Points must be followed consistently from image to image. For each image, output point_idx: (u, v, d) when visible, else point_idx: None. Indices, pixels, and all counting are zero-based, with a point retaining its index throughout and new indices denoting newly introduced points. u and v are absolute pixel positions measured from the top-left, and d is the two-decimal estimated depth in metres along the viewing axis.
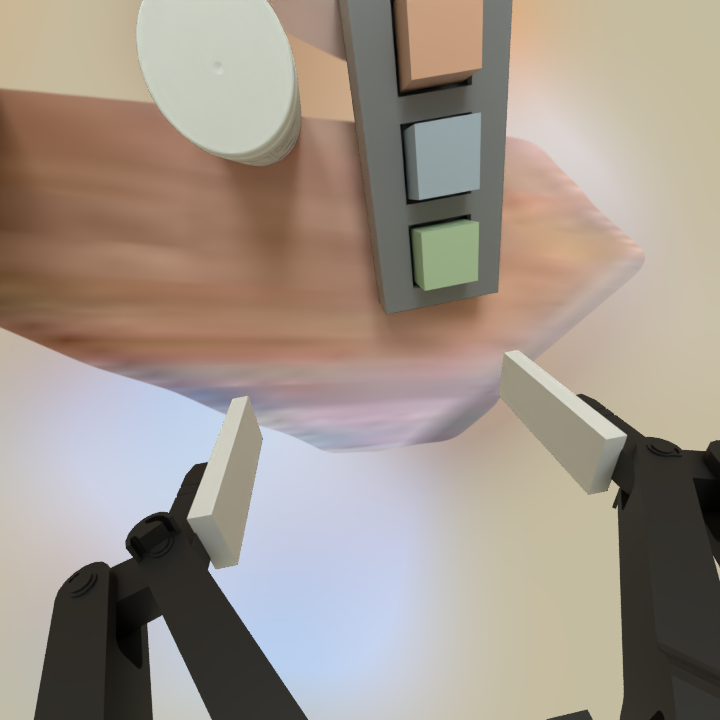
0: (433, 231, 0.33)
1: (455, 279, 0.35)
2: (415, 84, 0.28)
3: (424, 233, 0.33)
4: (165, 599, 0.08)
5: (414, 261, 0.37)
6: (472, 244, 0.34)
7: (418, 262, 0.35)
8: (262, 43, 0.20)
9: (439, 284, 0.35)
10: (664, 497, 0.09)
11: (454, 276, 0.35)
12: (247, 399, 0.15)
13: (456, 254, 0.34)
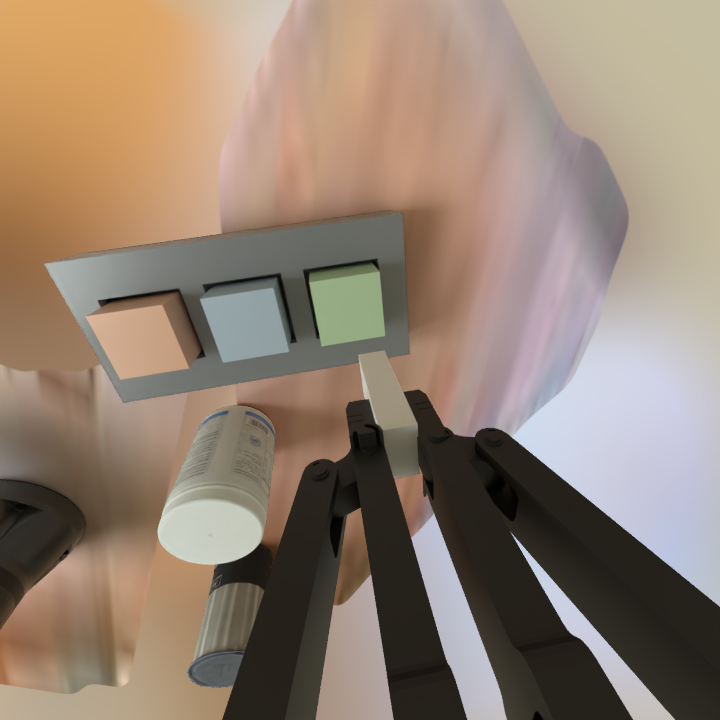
0: (320, 333, 0.29)
1: (375, 301, 0.29)
2: (192, 350, 0.30)
3: (322, 343, 0.30)
4: (363, 486, 0.10)
5: None
6: (334, 286, 0.28)
7: None
8: (191, 515, 0.28)
9: (379, 320, 0.30)
10: (456, 480, 0.10)
11: (372, 303, 0.29)
12: (372, 355, 0.18)
13: (345, 304, 0.28)
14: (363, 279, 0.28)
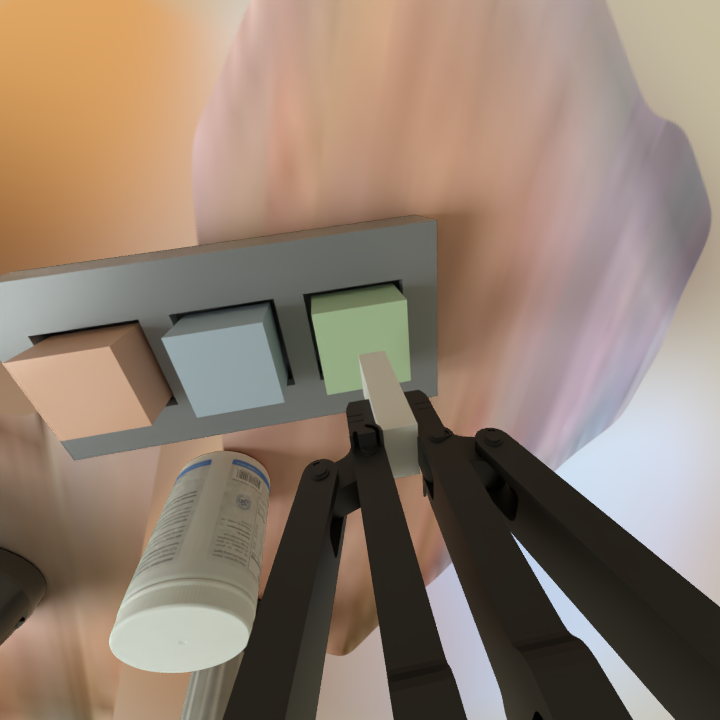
0: (325, 379, 0.22)
1: (399, 338, 0.21)
2: (158, 399, 0.23)
3: (328, 390, 0.23)
4: (363, 486, 0.10)
5: None
6: (346, 319, 0.20)
7: None
8: (153, 624, 0.21)
9: (404, 361, 0.22)
10: (456, 480, 0.10)
11: (395, 340, 0.21)
12: (372, 355, 0.18)
13: (359, 341, 0.21)
14: (384, 310, 0.20)
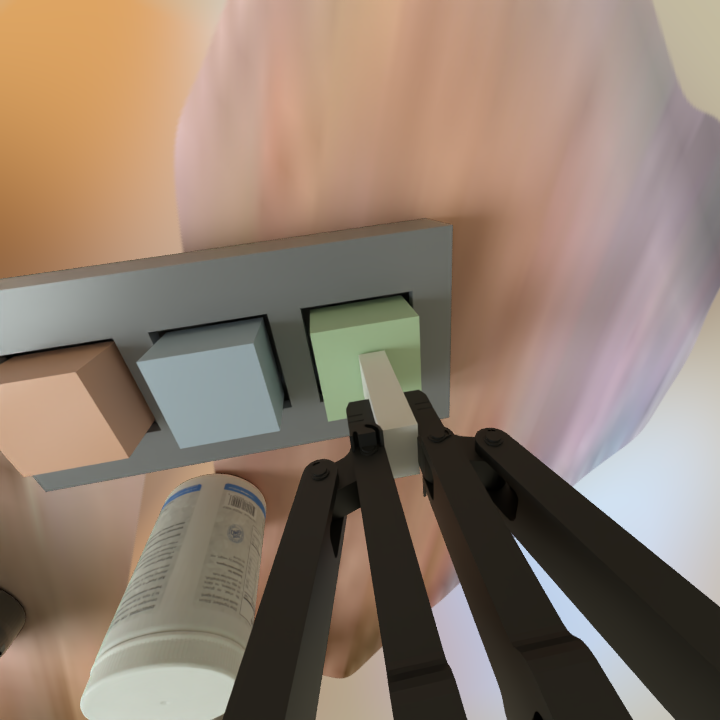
0: (326, 404, 0.20)
1: (410, 358, 0.19)
2: (137, 426, 0.21)
3: (328, 417, 0.20)
4: (363, 486, 0.10)
5: None
6: (349, 338, 0.18)
7: None
8: (130, 686, 0.19)
9: (414, 383, 0.20)
10: (456, 480, 0.10)
11: (405, 361, 0.19)
12: (372, 355, 0.18)
13: None
14: (393, 327, 0.18)
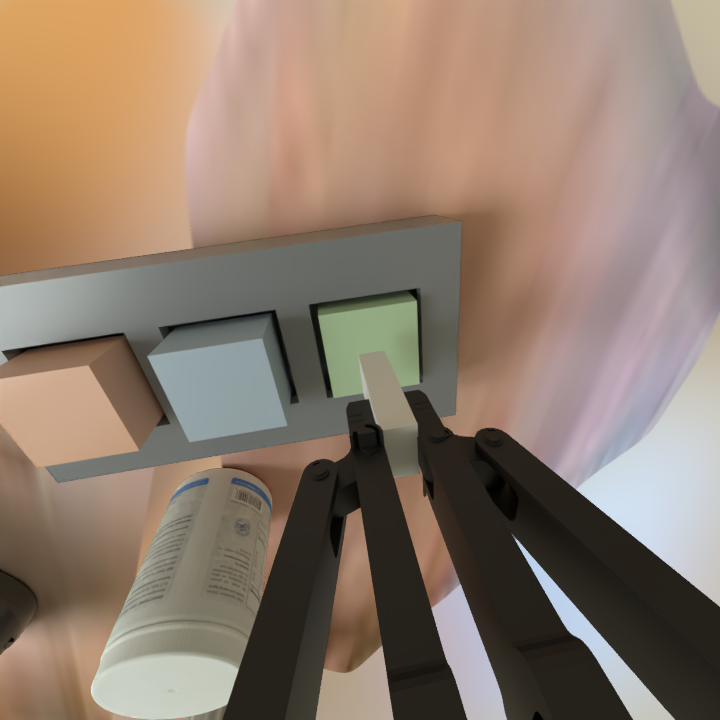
0: (331, 381, 0.22)
1: (408, 340, 0.21)
2: (147, 420, 0.21)
3: (334, 393, 0.22)
4: (363, 486, 0.10)
5: None
6: (353, 321, 0.20)
7: None
8: (140, 673, 0.19)
9: (413, 364, 0.22)
10: (456, 480, 0.10)
11: (404, 342, 0.21)
12: (372, 355, 0.18)
13: (367, 343, 0.21)
14: (393, 311, 0.20)
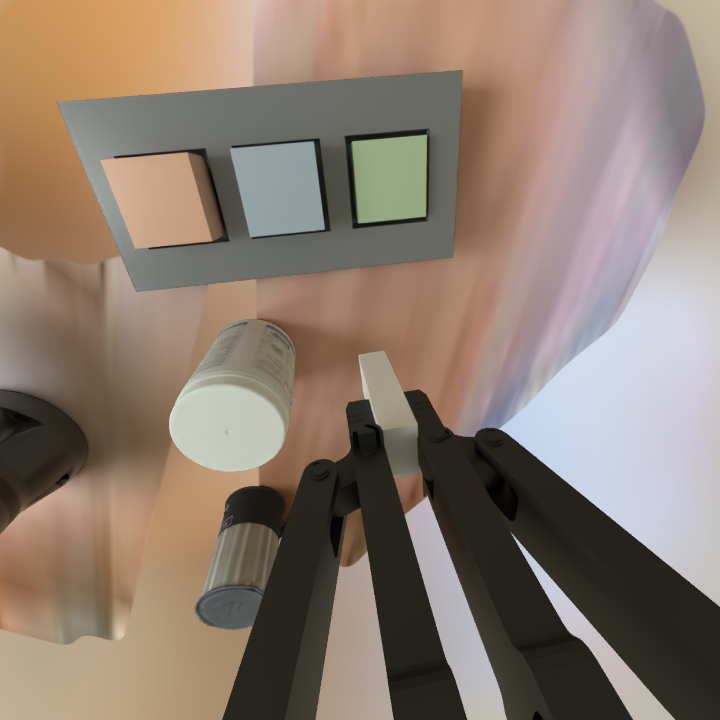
0: (358, 207, 0.28)
1: (419, 172, 0.27)
2: (215, 227, 0.27)
3: (359, 219, 0.28)
4: (363, 486, 0.10)
5: None
6: (378, 149, 0.26)
7: None
8: (208, 404, 0.25)
9: (421, 196, 0.28)
10: (456, 480, 0.10)
11: (415, 174, 0.27)
12: (372, 355, 0.18)
13: (387, 172, 0.27)
14: (409, 143, 0.26)
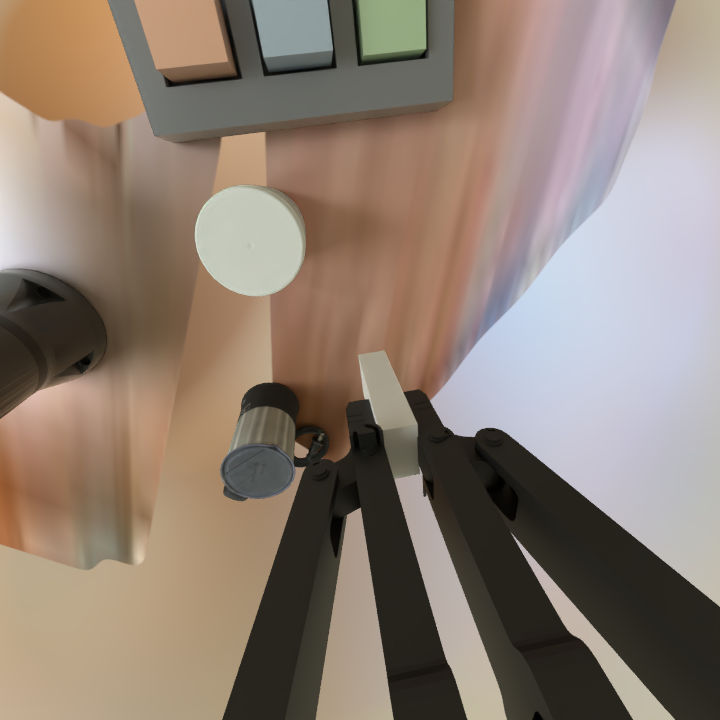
0: (362, 37, 0.30)
1: None
2: (229, 56, 0.29)
3: (364, 50, 0.30)
4: (363, 486, 0.10)
5: None
6: None
7: (394, 57, 0.32)
8: (231, 209, 0.27)
9: (421, 25, 0.30)
10: (456, 480, 0.10)
11: (415, 0, 0.29)
12: (372, 355, 0.18)
13: None
14: None
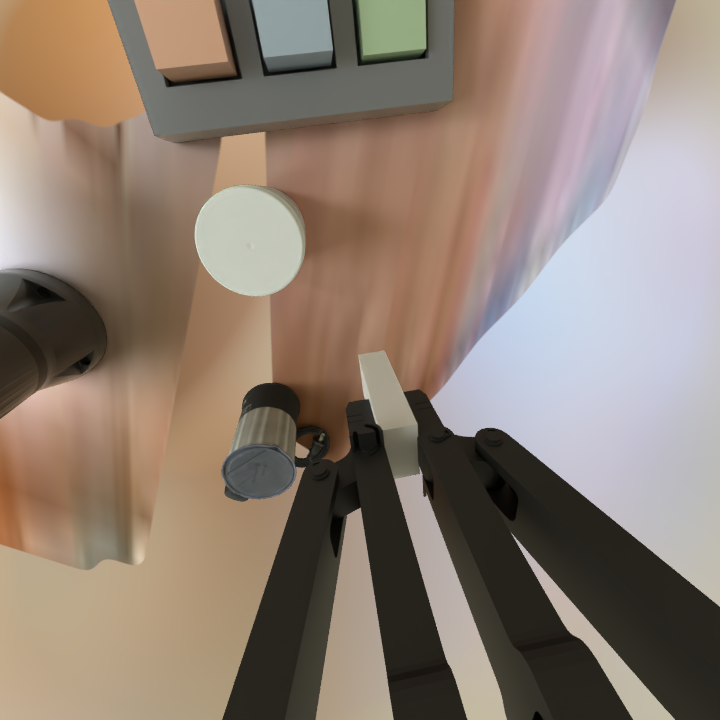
0: (362, 37, 0.30)
1: None
2: (229, 56, 0.29)
3: (364, 50, 0.30)
4: (363, 486, 0.10)
5: None
6: None
7: (394, 57, 0.32)
8: (231, 209, 0.27)
9: (421, 24, 0.30)
10: (456, 480, 0.10)
11: None
12: (372, 355, 0.18)
13: None
14: None
